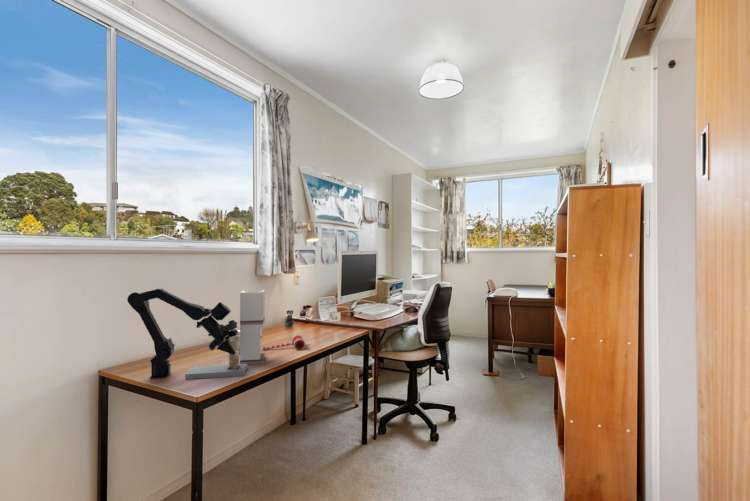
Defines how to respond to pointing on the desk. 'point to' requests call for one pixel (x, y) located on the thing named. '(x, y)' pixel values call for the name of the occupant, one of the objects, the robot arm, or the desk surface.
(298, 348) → the toy hammer
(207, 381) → the desk surface
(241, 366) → the board
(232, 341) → the wooden leg
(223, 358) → the desk surface
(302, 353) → the desk surface
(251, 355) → the tall grey banded box
